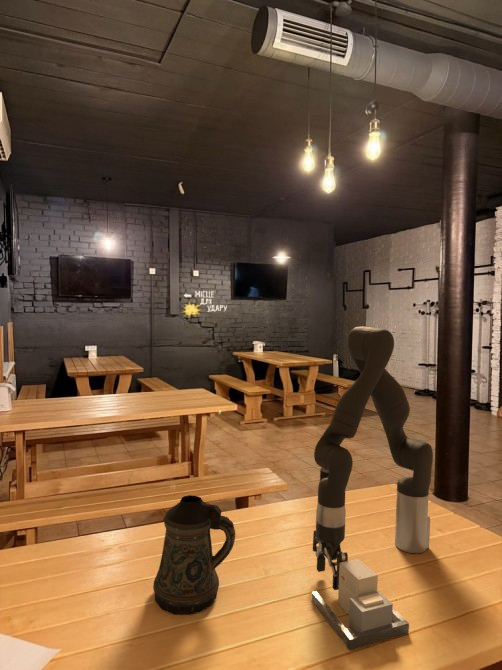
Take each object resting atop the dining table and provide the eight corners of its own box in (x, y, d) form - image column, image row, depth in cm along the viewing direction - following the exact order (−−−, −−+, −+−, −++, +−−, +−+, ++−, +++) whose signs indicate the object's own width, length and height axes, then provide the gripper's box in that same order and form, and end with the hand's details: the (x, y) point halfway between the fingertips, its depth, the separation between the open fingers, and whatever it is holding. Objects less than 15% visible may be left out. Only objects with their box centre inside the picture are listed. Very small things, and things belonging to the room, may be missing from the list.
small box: (376, 618, 108) (378, 575, 107) (356, 624, 106) (359, 579, 105) (355, 598, 115) (358, 558, 115) (337, 603, 113) (339, 561, 113)
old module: (378, 619, 108) (379, 588, 107) (391, 634, 103) (392, 601, 102) (348, 627, 105) (349, 595, 104) (361, 642, 100) (362, 609, 100)
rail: (364, 589, 119) (364, 580, 119) (408, 633, 103) (408, 623, 103) (311, 601, 114) (311, 592, 114) (349, 650, 98) (350, 639, 98)
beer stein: (147, 583, 120) (147, 490, 119) (217, 568, 128) (218, 480, 126) (161, 624, 105) (161, 518, 104) (239, 603, 113) (241, 504, 111)
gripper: (358, 530, 114) (355, 592, 115) (329, 506, 127) (327, 562, 128) (331, 534, 111) (329, 598, 112) (305, 509, 125) (303, 567, 126)
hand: (328, 579), depth 120 cm, fingers open, 8 cm apart
